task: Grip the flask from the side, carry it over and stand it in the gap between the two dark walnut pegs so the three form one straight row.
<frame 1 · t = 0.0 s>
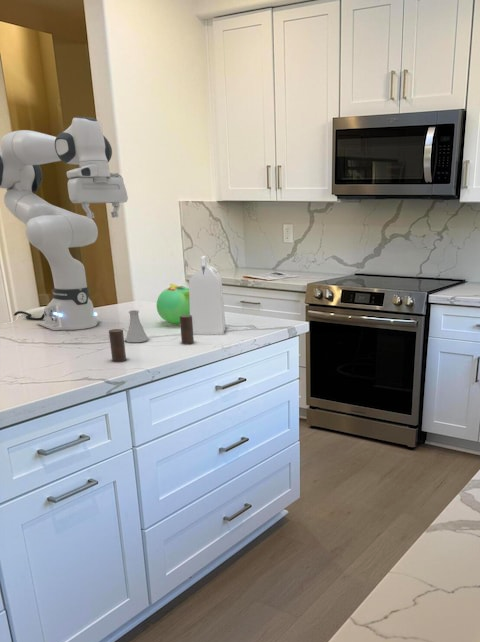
hand: (103, 217, 199), 39 cm above the worktop, tool pointing down, fingers open, 8 cm apart
toy bird: (181, 324, 232), on the worktop
flask: (136, 341, 205), on the worktop
walnut peg front: (119, 360, 182), on the worktop
milk: (208, 331, 221), on the worktop
walnut peg back: (187, 342, 203), on the worktop
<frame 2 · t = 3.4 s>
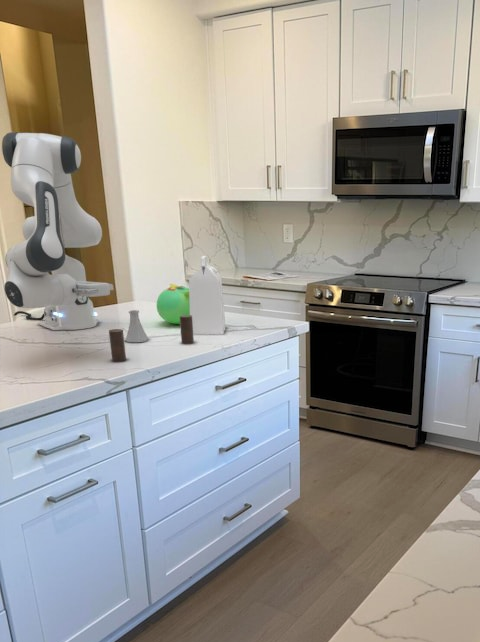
hand: (101, 286, 189), 19 cm above the worktop, tool horizontal, fingers open, 8 cm apart
nothing on the worktop moved.
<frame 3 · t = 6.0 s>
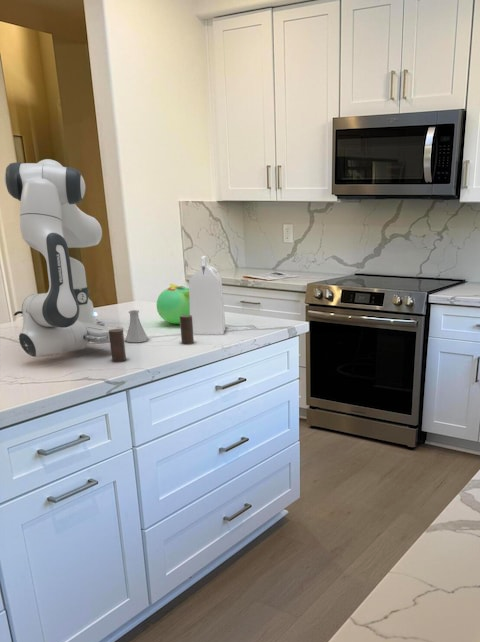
hand: (112, 327, 196), 6 cm above the worktop, tool horizontal, fingers open, 8 cm apart
nothing on the worktop moved.
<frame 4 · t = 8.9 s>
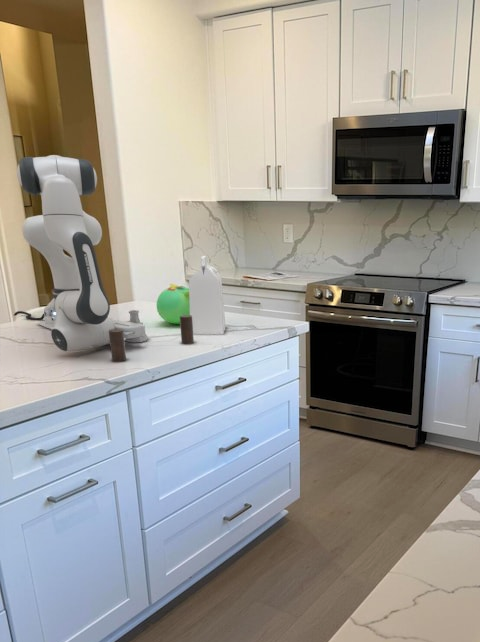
hand: (137, 323, 204), 6 cm above the worktop, tool horizontal, fingers closed on flask, 3 cm apart
flask: (136, 341, 205), on the worktop, touching gripper
everything else where it was.
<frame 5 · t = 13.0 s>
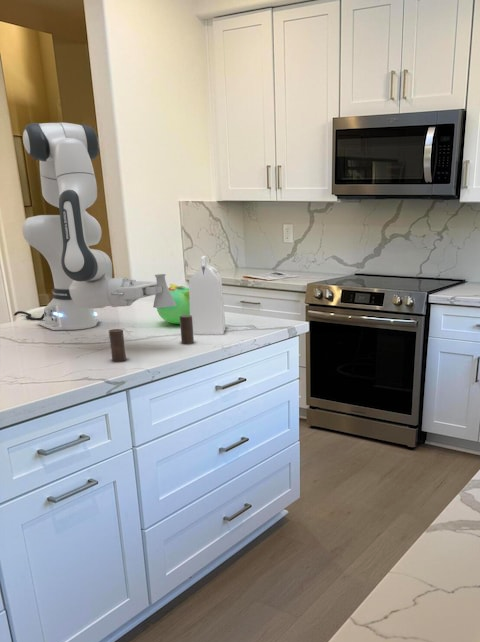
hand: (164, 289, 189), 19 cm above the worktop, tool horizontal, fingers closed on flask, 3 cm apart
flask: (165, 307, 191), point 13 cm above the worktop, touching gripper
everything else where it was.
when the fingers open (5 cm above the worktop, at t = 17.6 s): flask stays where it is, on the worktop.
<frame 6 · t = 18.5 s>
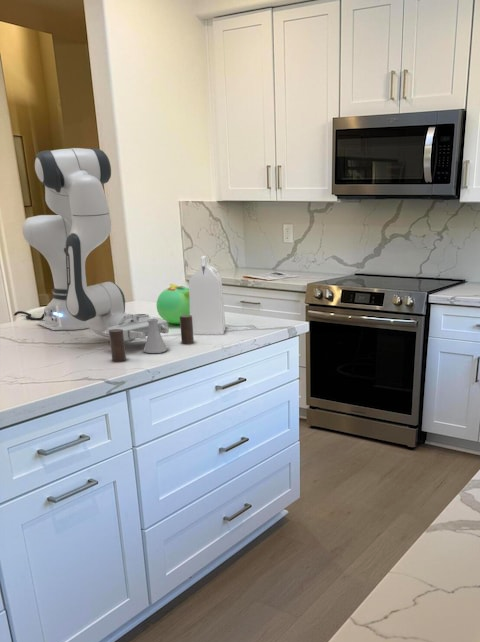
hand: (155, 333, 190), 6 cm above the worktop, tool horizontal, fingers open, 8 cm apart
flask: (155, 351, 192), on the worktop
everything else where it was.
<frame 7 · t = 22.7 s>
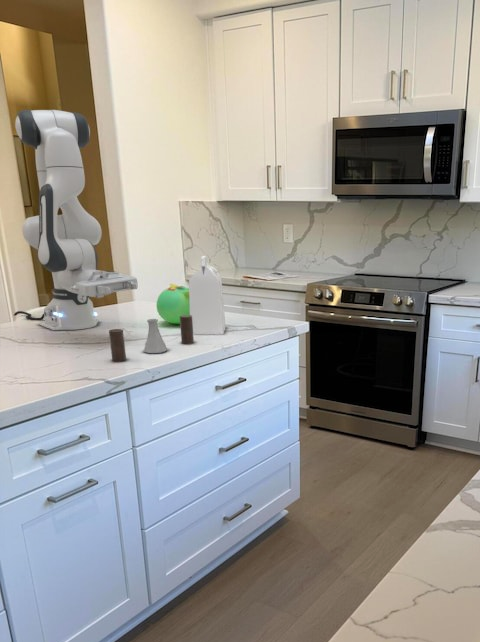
hand: (123, 288, 192), 18 cm above the worktop, tool horizontal, fingers open, 8 cm apart
nothing on the worktop moved.
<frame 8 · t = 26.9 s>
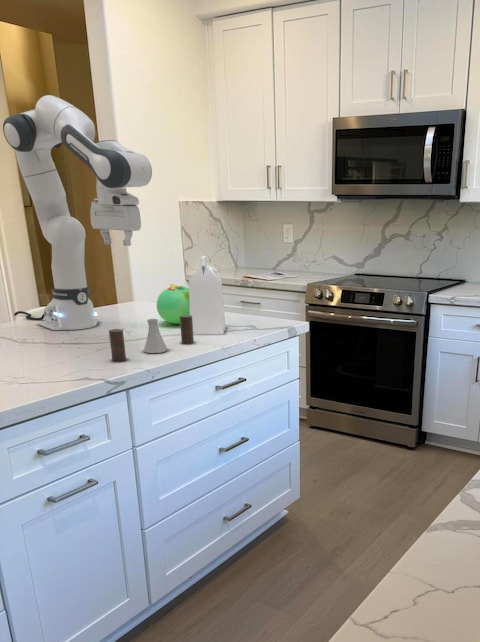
hand: (117, 244, 193), 31 cm above the worktop, tool pointing down, fingers open, 8 cm apart
nothing on the worktop moved.
at the end: flask 0.2 cm from the target spot, on the worktop; flask tilted 0°; the gripper is holding nothing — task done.
